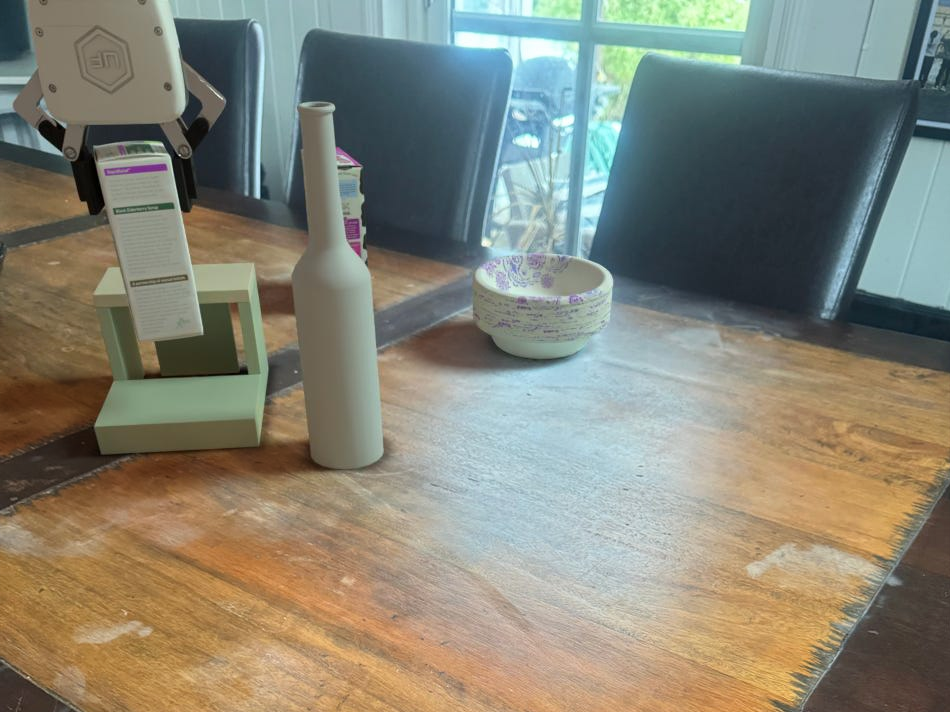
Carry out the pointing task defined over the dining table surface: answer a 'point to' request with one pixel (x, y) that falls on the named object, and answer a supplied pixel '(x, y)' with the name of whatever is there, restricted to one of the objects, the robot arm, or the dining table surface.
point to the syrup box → (149, 239)
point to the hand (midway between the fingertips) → (142, 207)
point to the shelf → (185, 370)
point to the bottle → (334, 315)
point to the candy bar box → (349, 201)
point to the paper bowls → (541, 303)
